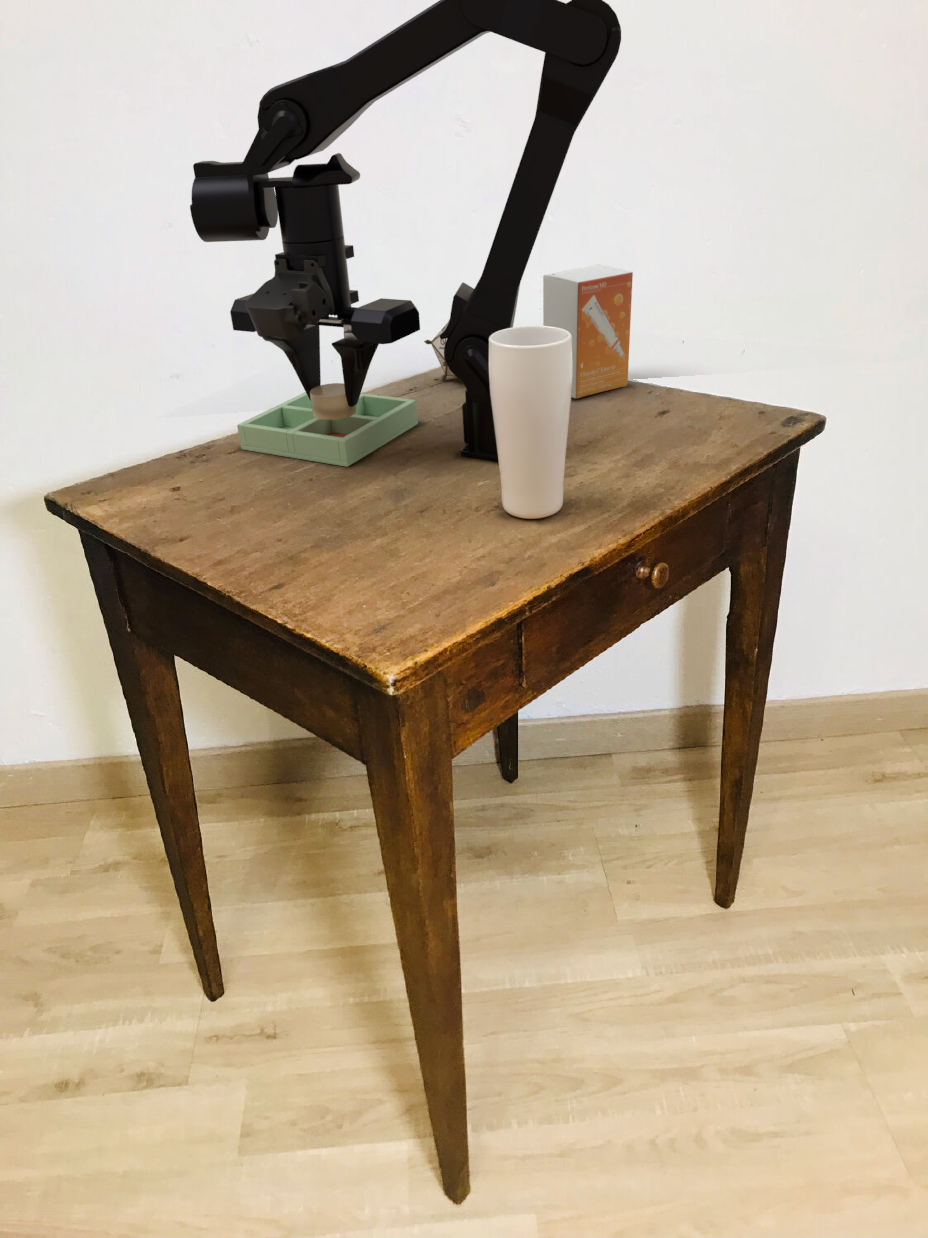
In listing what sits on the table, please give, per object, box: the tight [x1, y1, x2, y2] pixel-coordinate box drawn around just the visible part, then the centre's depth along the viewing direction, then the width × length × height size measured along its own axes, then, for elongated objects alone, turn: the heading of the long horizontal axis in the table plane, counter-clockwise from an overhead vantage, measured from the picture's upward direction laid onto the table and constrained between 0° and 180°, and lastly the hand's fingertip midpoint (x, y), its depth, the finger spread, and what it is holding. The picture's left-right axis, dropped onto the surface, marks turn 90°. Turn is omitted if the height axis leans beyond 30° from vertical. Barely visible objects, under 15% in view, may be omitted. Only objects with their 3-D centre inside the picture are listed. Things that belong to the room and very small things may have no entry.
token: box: [310, 382, 356, 420], centre depth 96 cm, size 4×4×2 cm
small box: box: [542, 264, 634, 400], centre depth 109 cm, size 8×6×13 cm
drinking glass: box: [488, 325, 573, 520], centre depth 79 cm, size 7×7×15 cm
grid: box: [236, 391, 419, 468], centre depth 101 cm, size 14×14×3 cm
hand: (333, 402), depth 96 cm, fingers closed on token, 4 cm apart
